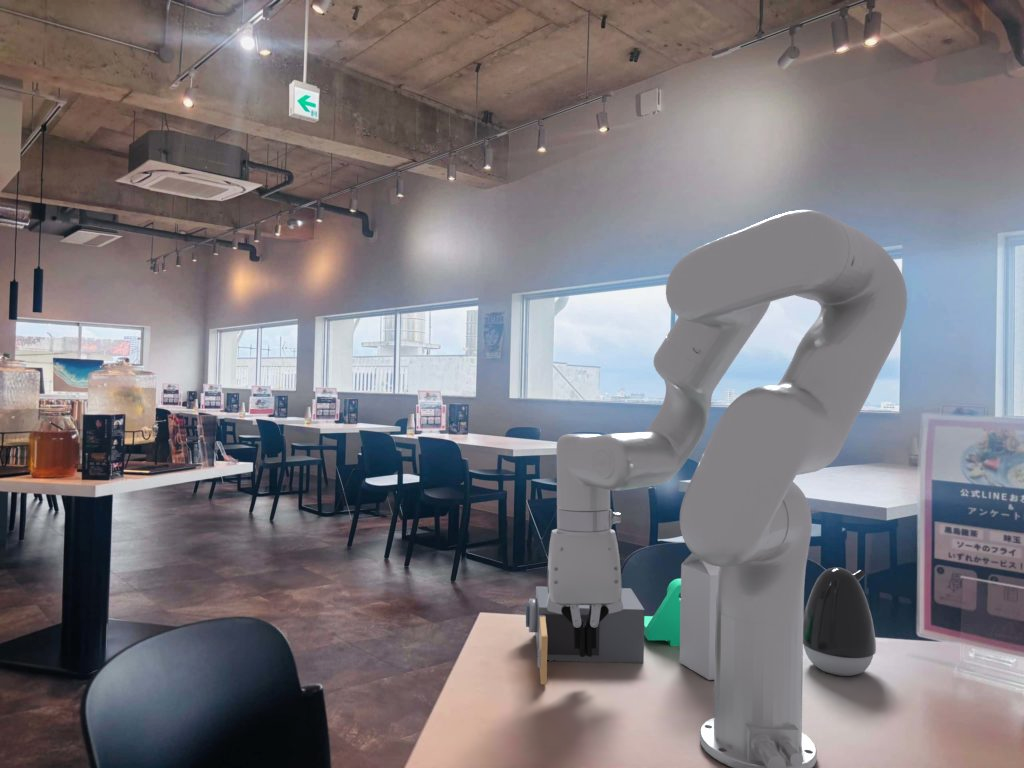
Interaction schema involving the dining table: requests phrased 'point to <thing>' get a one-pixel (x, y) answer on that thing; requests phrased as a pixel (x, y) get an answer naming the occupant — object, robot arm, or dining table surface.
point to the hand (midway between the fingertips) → (585, 653)
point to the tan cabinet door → (542, 649)
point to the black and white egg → (839, 624)
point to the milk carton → (698, 616)
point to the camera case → (613, 634)
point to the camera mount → (666, 617)
